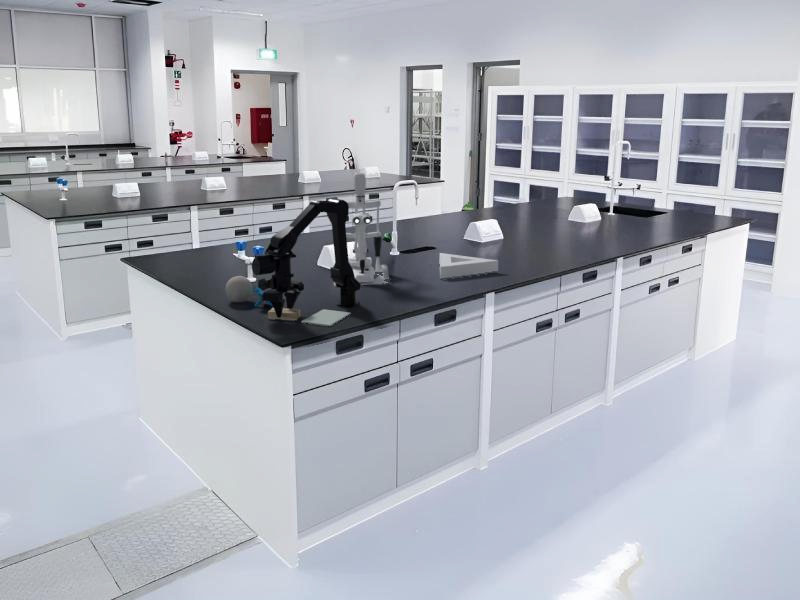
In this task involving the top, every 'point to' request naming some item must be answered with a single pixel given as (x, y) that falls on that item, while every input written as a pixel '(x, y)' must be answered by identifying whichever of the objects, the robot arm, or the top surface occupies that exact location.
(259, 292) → the blue bumpy slanted figure
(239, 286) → the grey ball
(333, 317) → the mat
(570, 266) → the top surface
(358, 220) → the microscope
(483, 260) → the triangular ruler
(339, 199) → the robot arm
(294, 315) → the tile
